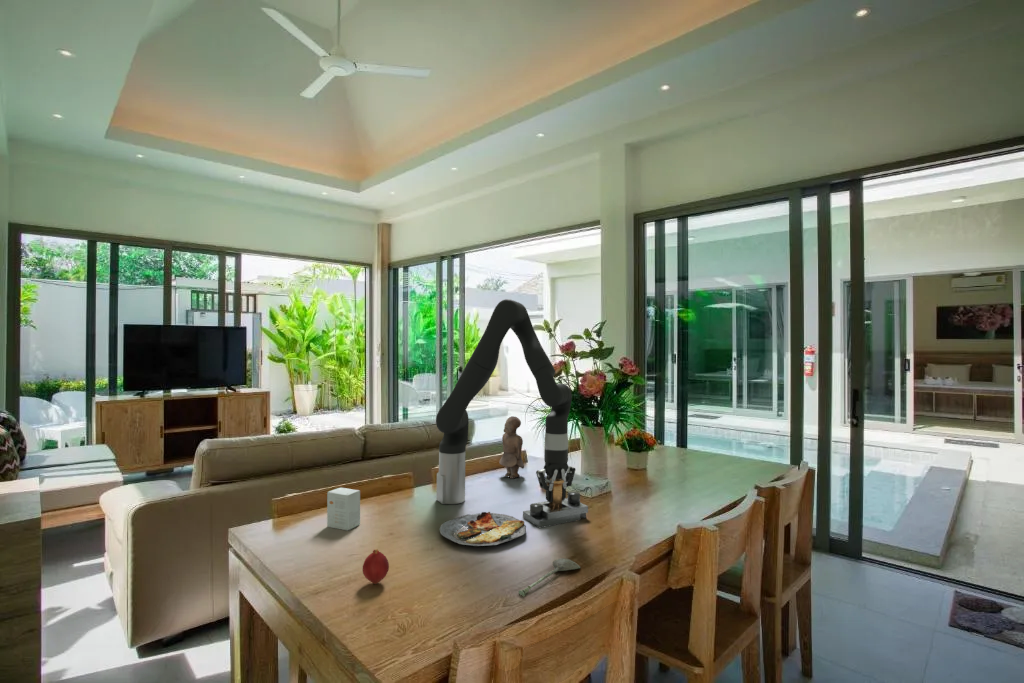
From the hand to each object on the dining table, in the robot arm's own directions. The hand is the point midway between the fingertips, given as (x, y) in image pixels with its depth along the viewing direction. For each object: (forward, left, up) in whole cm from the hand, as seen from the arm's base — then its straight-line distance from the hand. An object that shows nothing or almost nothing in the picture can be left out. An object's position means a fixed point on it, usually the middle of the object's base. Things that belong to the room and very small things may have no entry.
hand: (555, 500), depth 163 cm
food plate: (-26, -2, -6) cm, 27 cm away
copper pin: (0, 0, -2) cm, 2 cm away
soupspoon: (-24, -34, -6) cm, 42 cm away
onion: (-61, -19, -6) cm, 64 cm away
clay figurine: (+11, +50, -6) cm, 52 cm away
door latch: (0, 0, -6) cm, 6 cm away
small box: (-61, +22, -6) cm, 65 cm away
